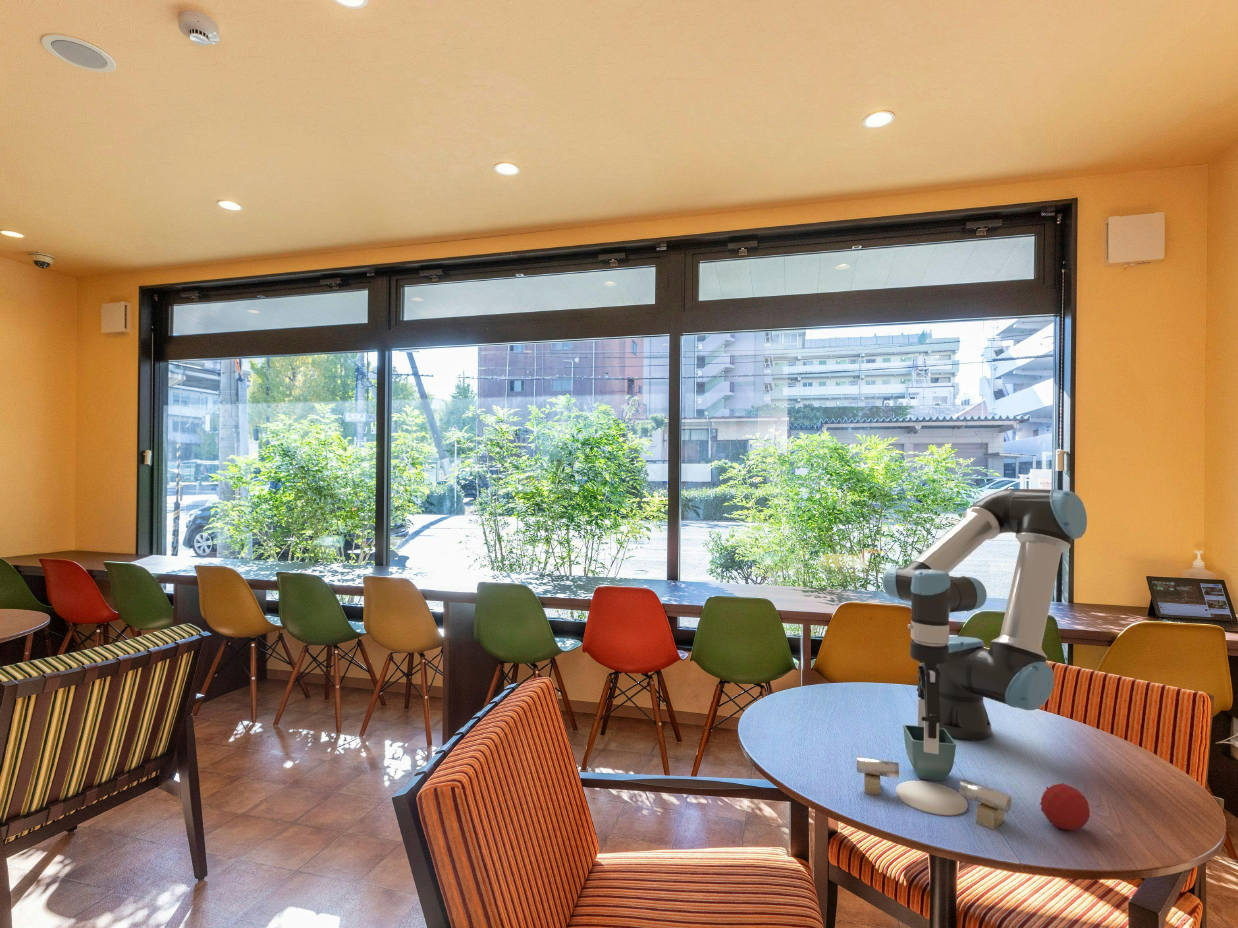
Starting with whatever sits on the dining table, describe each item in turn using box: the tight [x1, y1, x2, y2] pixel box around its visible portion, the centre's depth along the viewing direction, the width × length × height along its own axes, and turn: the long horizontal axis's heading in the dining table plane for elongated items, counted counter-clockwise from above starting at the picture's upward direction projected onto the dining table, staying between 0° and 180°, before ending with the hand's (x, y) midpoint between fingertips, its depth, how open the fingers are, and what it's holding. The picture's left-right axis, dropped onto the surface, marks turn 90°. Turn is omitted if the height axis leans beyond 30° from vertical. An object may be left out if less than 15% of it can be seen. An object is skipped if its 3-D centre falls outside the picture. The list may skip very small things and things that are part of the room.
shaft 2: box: [958, 779, 1012, 830], centre depth 121 cm, size 8×5×6 cm, turn 40°
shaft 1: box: [856, 756, 900, 796], centre depth 132 cm, size 8×5×6 cm, turn 70°
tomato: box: [1039, 783, 1091, 831], centre depth 119 cm, size 8×8×8 cm
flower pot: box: [902, 724, 957, 782], centre depth 139 cm, size 9×9×9 cm
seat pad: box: [895, 780, 969, 817], centre depth 129 cm, size 13×13×1 cm
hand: (927, 740), depth 139 cm, fingers open, 13 cm apart
